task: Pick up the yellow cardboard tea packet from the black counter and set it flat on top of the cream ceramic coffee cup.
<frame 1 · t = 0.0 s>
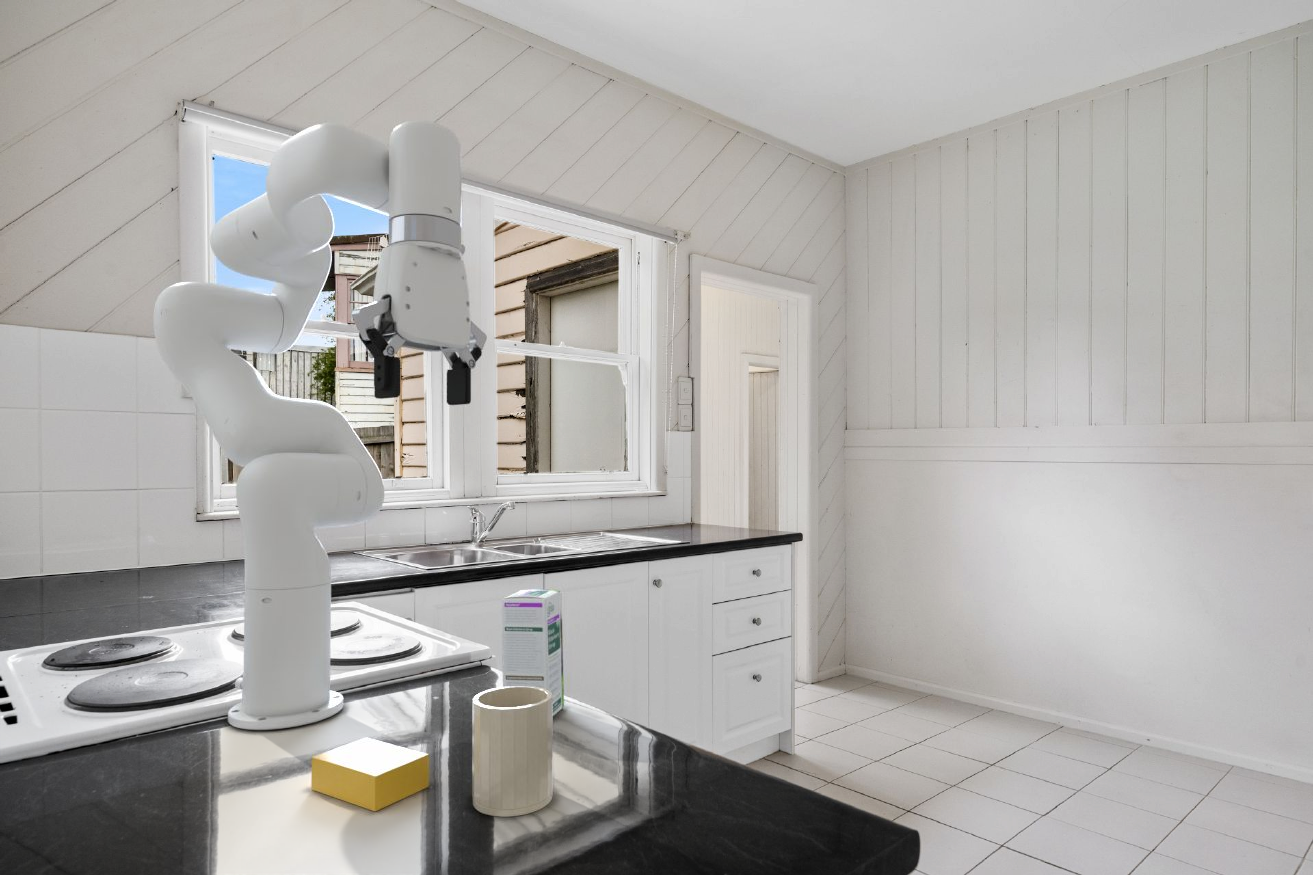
hand: (424, 401, 81), 37 cm above the countertop, tool pointing down, fingers open, 9 cm apart
packet: (370, 788, 70), on the countertop
syrup box: (533, 715, 91), on the countertop
cup: (512, 798, 68), on the countertop
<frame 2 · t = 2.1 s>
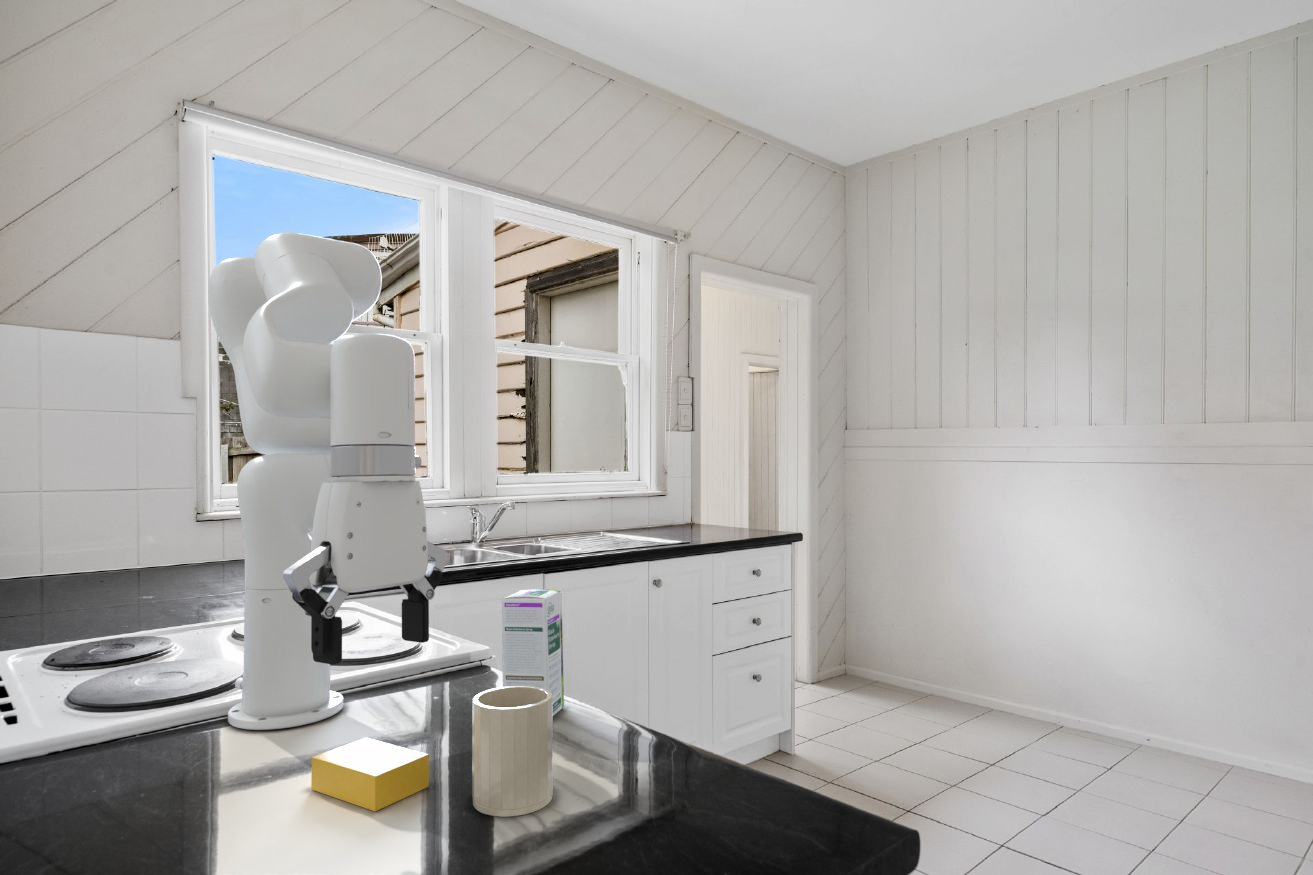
hand: (373, 650, 70), 13 cm above the countertop, tool pointing down, fingers open, 9 cm apart
nothing on the countertop moved.
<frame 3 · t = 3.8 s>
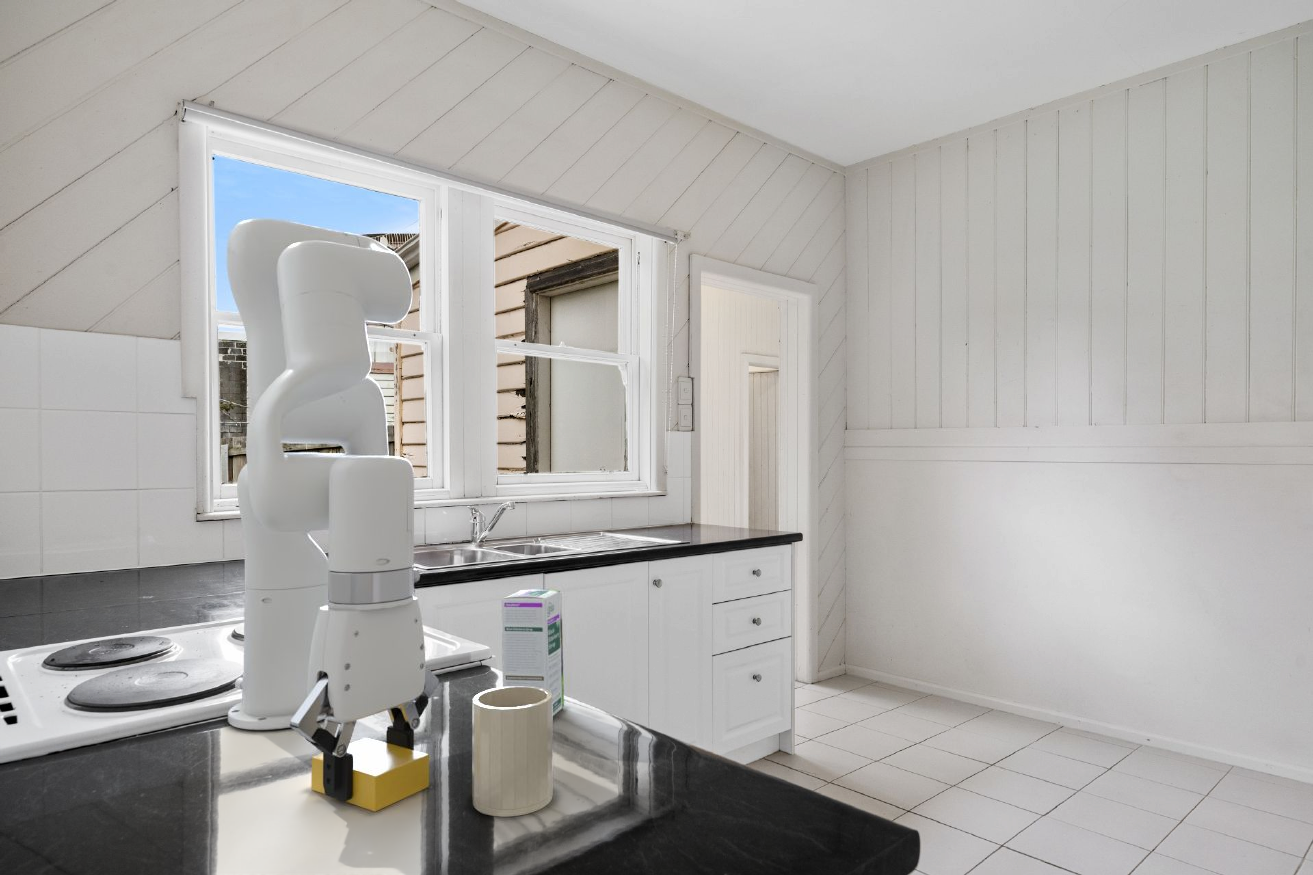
hand: (370, 781, 70), 1 cm above the countertop, tool pointing down, fingers closed on packet, 6 cm apart
packet: (370, 788, 70), on the countertop, touching gripper
everything else where it was.
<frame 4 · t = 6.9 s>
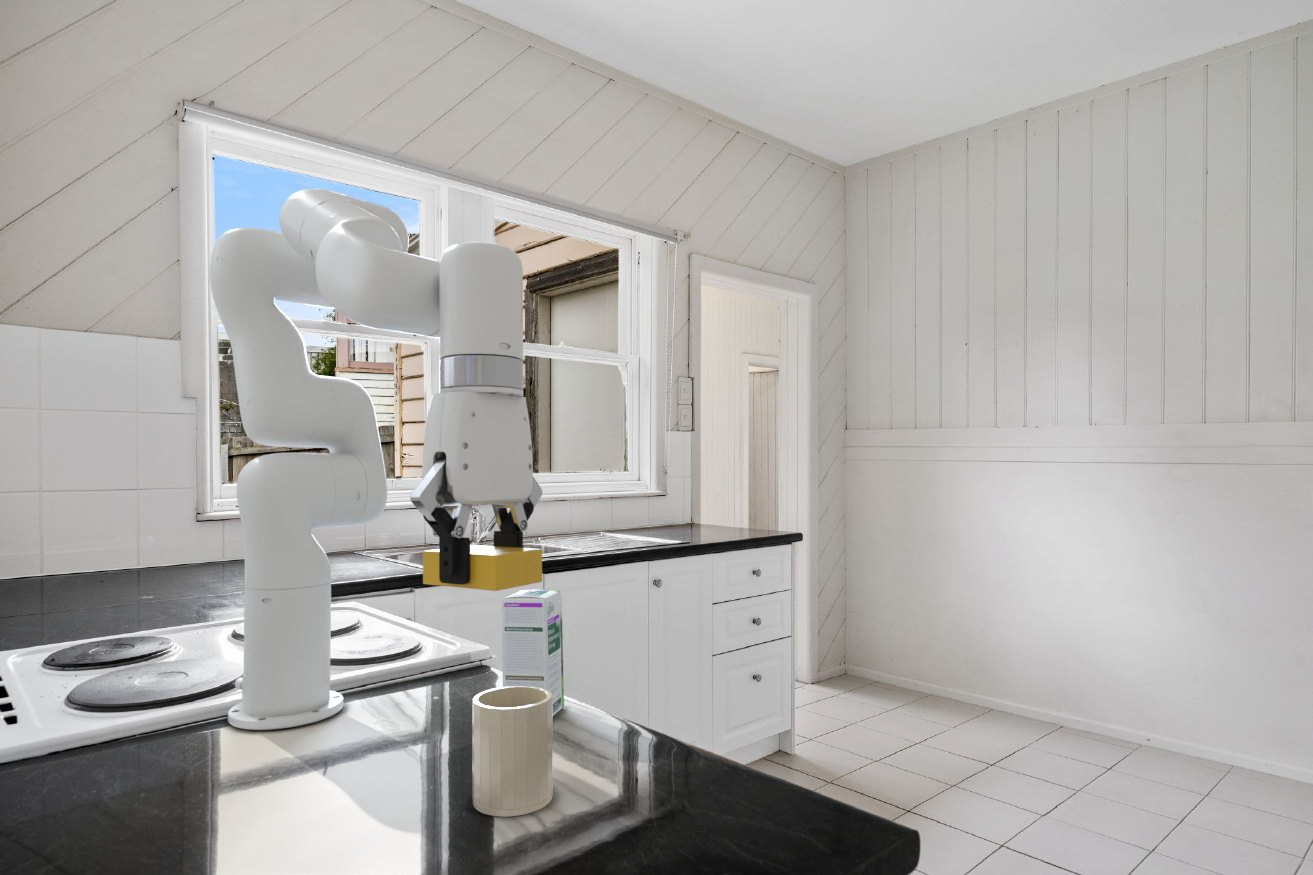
hand: (482, 576, 69), 20 cm above the countertop, tool pointing down, fingers closed on packet, 6 cm apart
packet: (482, 582, 69), point 19 cm above the countertop, touching gripper
everything else where it was.
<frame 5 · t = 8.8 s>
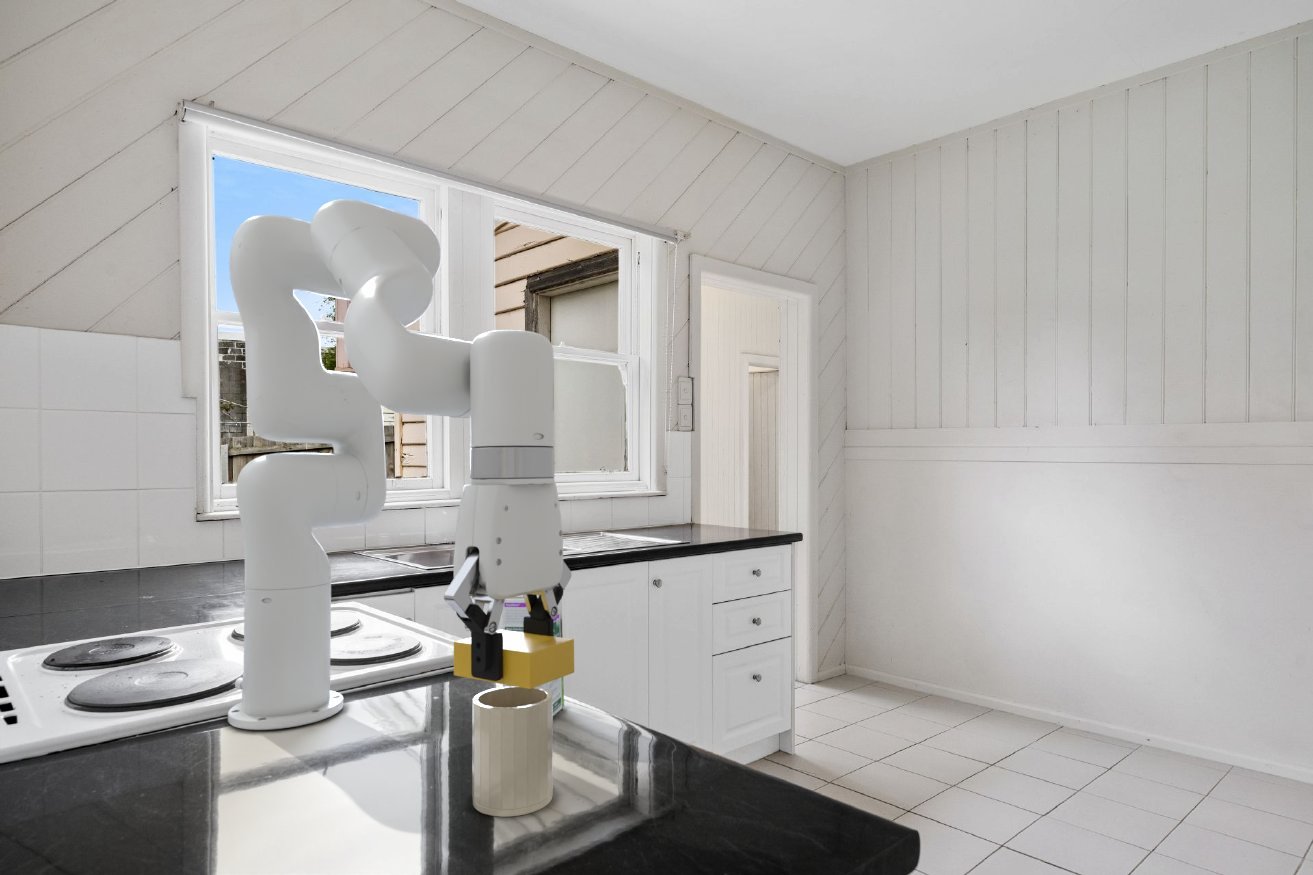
hand: (513, 667, 68), 12 cm above the countertop, tool pointing down, fingers closed on packet, 6 cm apart
packet: (514, 674, 68), point 11 cm above the countertop, touching gripper
everything else where it was.
when the fingers open (10 cm above the countertop, at t = 9.9 s): packet stays where it is, resting on cup.
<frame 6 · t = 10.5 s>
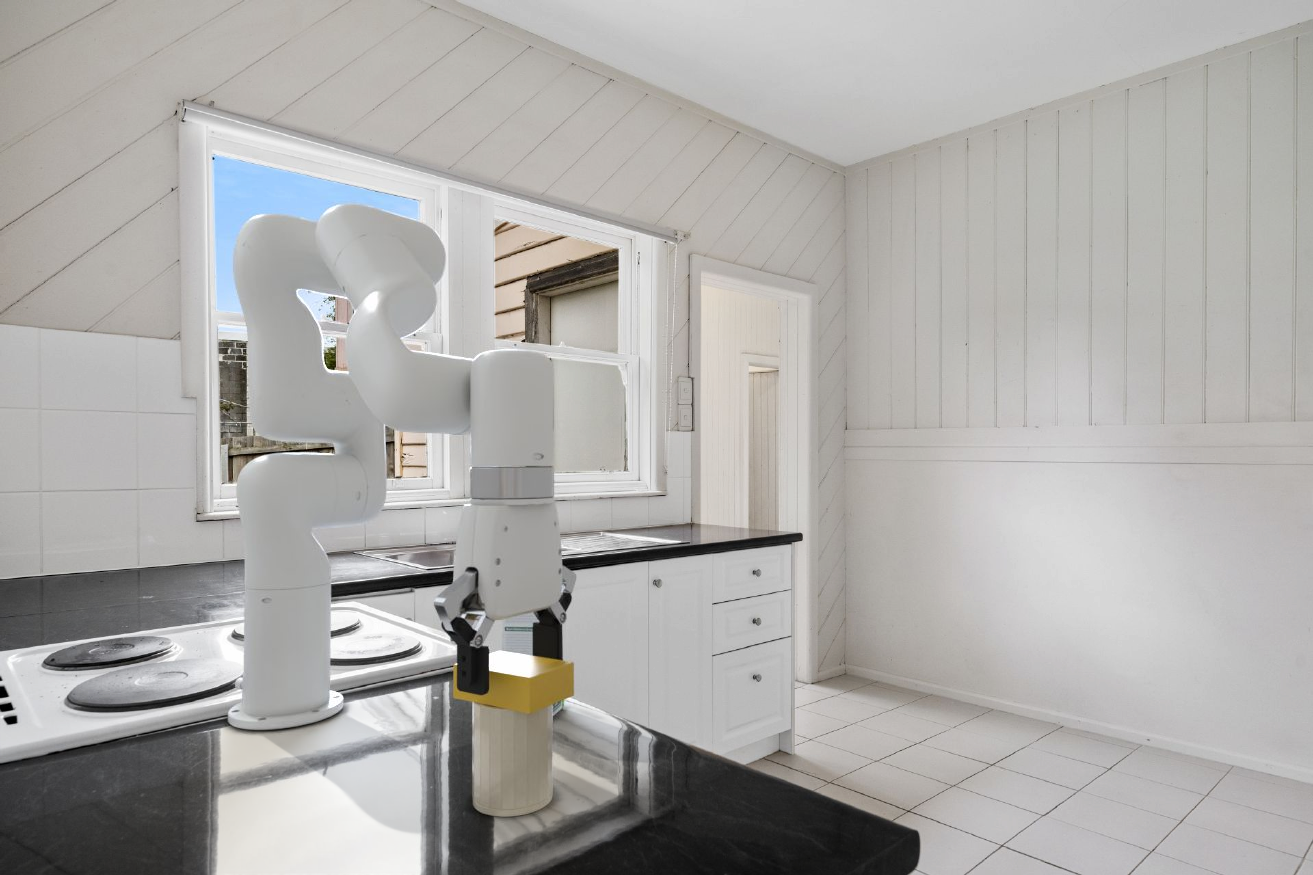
hand: (512, 678, 68), 11 cm above the countertop, tool pointing down, fingers open, 9 cm apart
packet: (513, 696, 68), point 9 cm above the countertop, touching cup
cup: (512, 798, 68), on the countertop, touching packet
everything else where it was.
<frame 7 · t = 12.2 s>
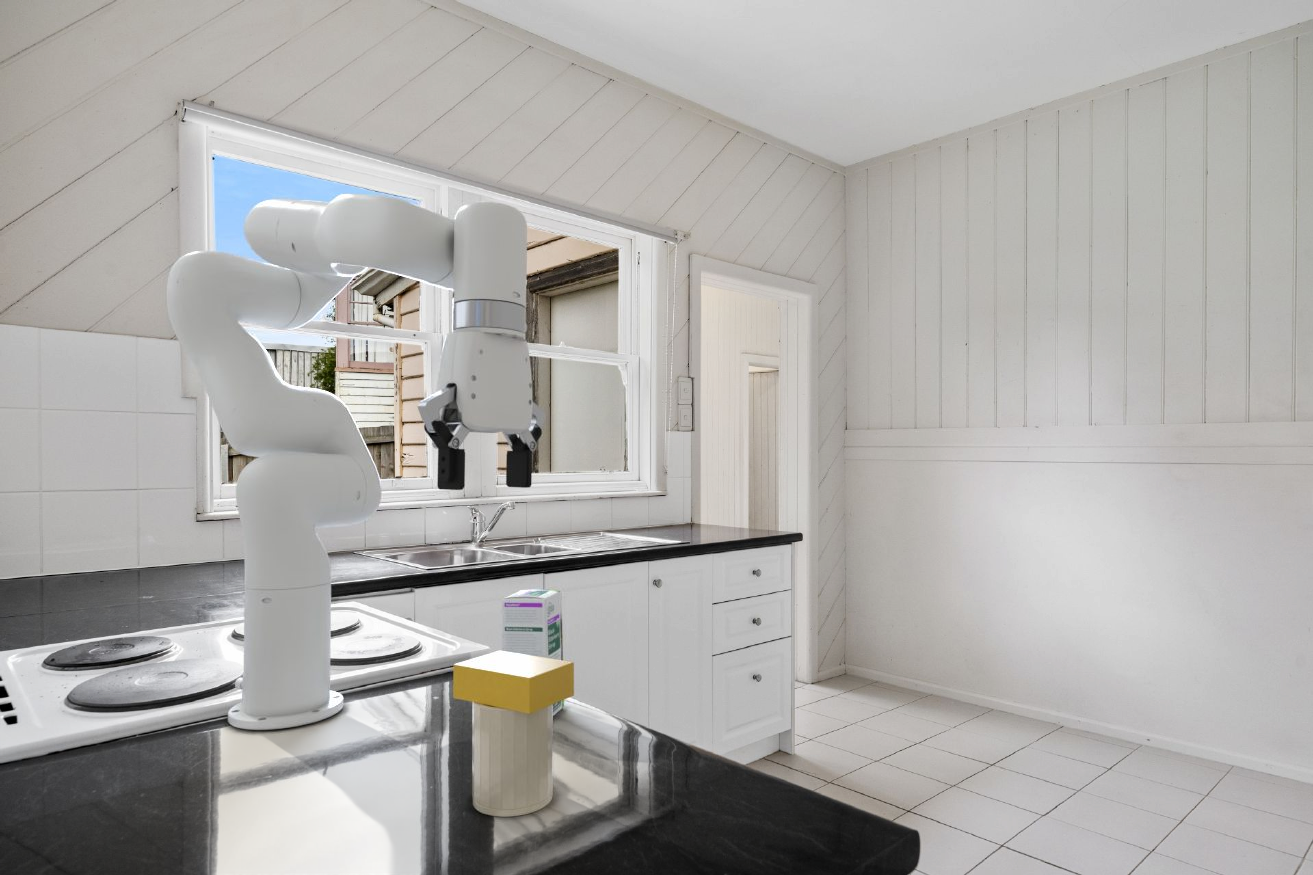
hand: (486, 488, 79), 27 cm above the countertop, tool pointing down, fingers open, 9 cm apart
nothing on the countertop moved.
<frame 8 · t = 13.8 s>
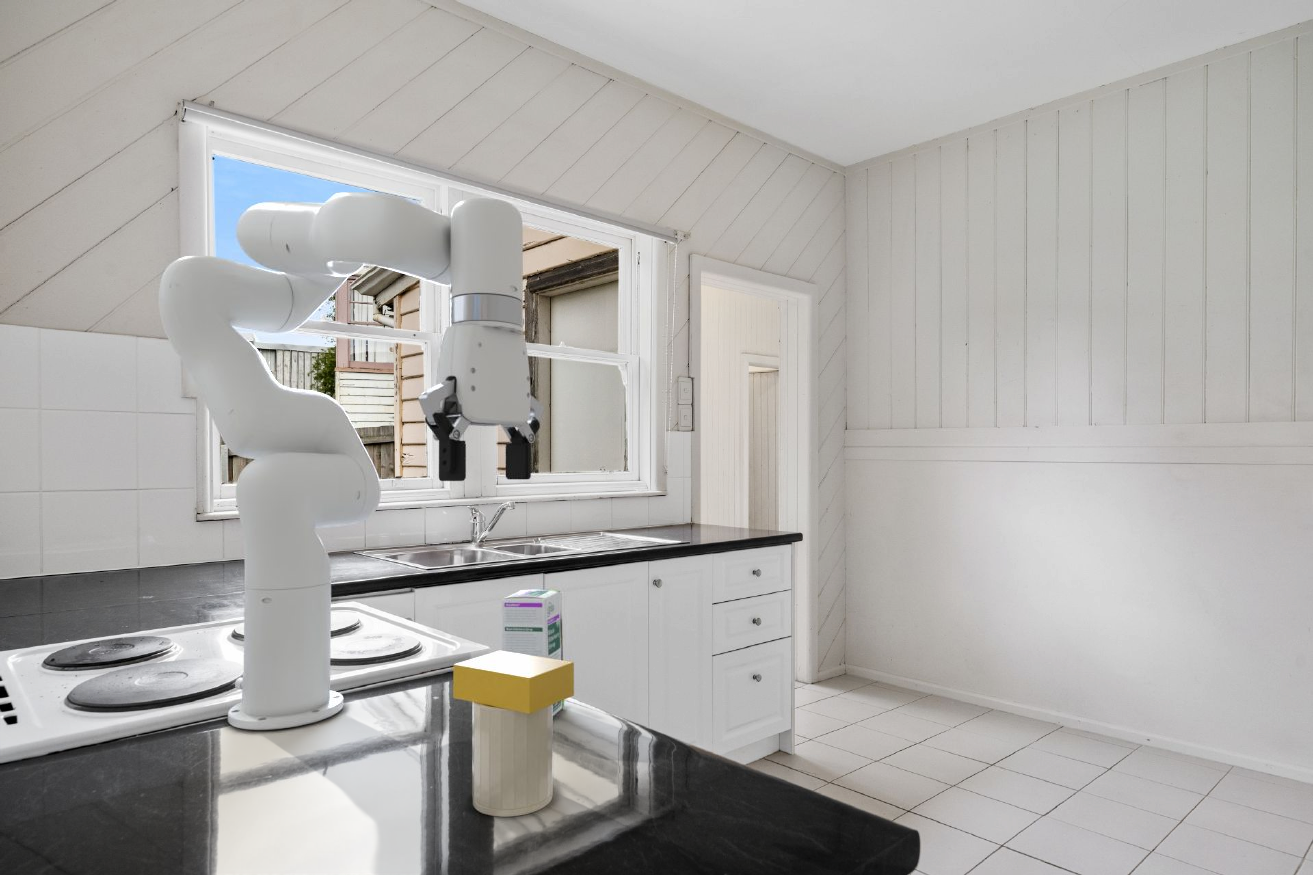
hand: (486, 480, 80), 28 cm above the countertop, tool pointing down, fingers open, 9 cm apart
nothing on the countertop moved.
at the end: packet 0.1 cm off-centre on the cup, point 9.0 cm above the cup's base; packet tilted 0°; cup tilted 0° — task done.
